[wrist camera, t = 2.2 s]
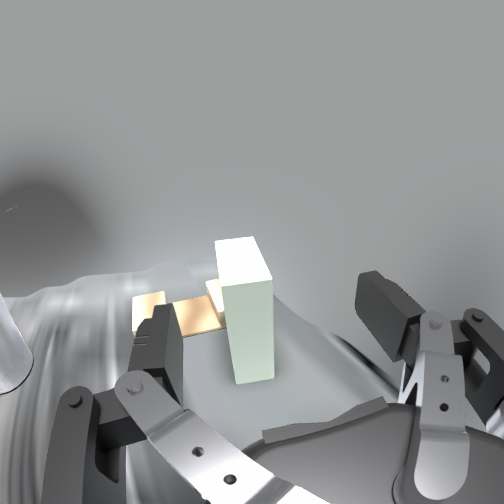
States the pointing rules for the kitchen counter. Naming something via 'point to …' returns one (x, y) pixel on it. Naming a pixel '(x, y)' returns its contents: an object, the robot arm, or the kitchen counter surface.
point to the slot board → (186, 310)
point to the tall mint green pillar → (247, 308)
